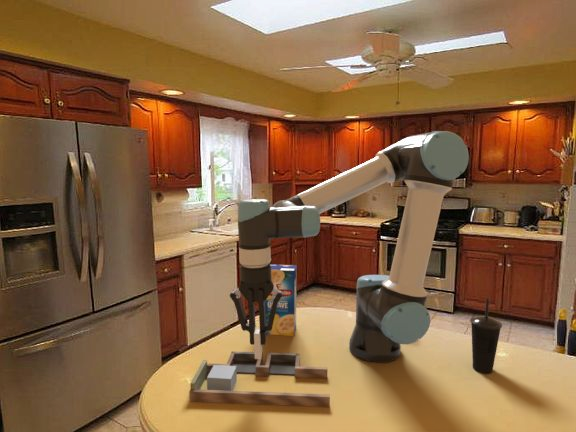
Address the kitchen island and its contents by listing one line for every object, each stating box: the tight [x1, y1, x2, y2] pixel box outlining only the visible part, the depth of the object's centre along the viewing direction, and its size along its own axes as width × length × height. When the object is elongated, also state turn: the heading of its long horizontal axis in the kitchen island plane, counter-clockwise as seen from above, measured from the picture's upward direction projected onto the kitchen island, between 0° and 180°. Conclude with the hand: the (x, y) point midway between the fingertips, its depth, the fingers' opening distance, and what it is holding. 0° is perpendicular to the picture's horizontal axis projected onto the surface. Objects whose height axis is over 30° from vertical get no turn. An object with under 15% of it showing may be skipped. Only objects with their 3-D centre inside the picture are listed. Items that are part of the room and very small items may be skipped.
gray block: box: [206, 365, 238, 391], centre depth 96 cm, size 6×6×4 cm
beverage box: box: [265, 263, 298, 337], centre depth 127 cm, size 7×11×22 cm, turn 83°
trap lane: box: [188, 351, 331, 408], centre depth 98 cm, size 33×20×4 cm, turn 87°
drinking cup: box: [469, 298, 503, 375], centre depth 103 cm, size 8×8×20 cm
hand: (258, 356), depth 94 cm, fingers closed
